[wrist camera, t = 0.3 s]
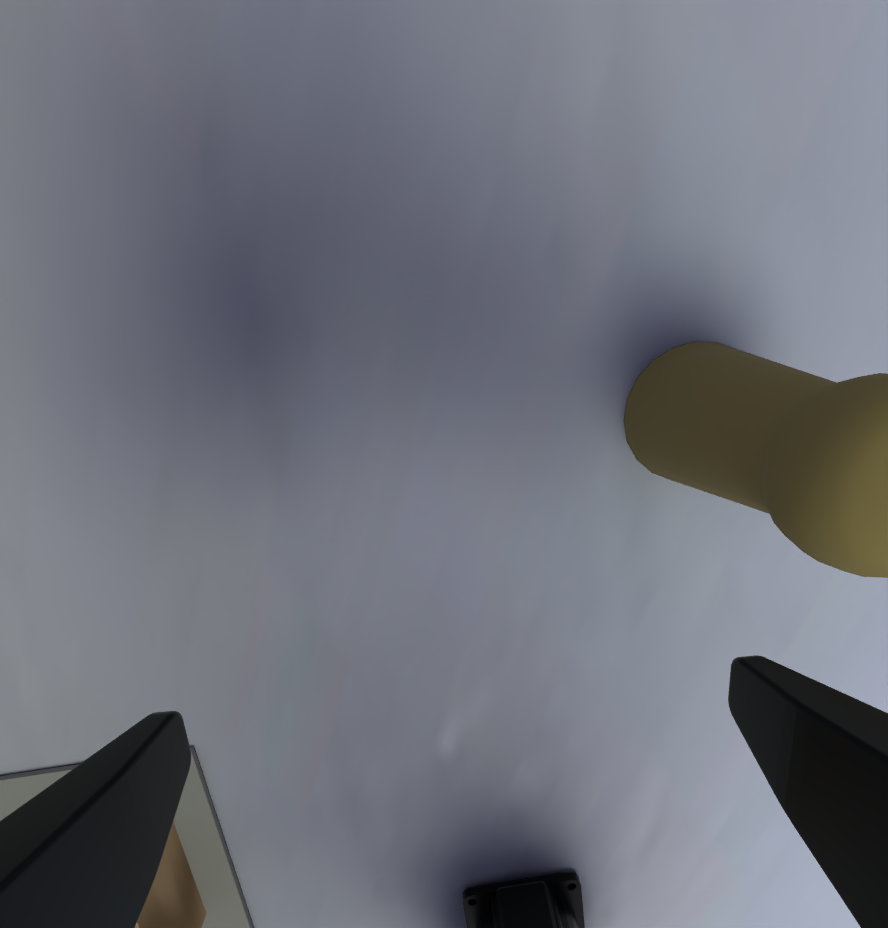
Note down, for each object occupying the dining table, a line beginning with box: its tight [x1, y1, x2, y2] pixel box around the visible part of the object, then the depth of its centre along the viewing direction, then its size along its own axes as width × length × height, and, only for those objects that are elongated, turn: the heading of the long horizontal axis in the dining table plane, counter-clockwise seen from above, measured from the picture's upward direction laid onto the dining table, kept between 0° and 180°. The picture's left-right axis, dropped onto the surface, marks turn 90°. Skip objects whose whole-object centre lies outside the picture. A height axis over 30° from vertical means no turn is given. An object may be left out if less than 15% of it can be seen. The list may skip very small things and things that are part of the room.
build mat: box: [0, 747, 254, 928], centre depth 27 cm, size 14×12×1 cm
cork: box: [624, 342, 888, 577], centre depth 17 cm, size 6×6×11 cm
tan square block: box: [135, 822, 207, 928], centre depth 25 cm, size 7×7×4 cm
